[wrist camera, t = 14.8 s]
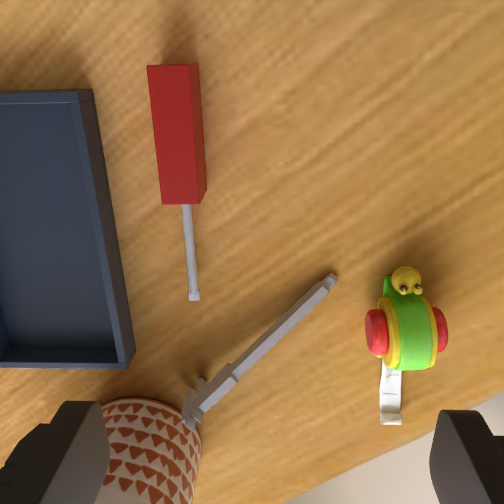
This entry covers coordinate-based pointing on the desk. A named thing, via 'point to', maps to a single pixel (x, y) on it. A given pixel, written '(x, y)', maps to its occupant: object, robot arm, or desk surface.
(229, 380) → the caliper
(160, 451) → the planter
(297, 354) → the desk surface
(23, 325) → the tray
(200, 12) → the desk surface
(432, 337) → the toy measuring tape
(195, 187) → the screwdriver
